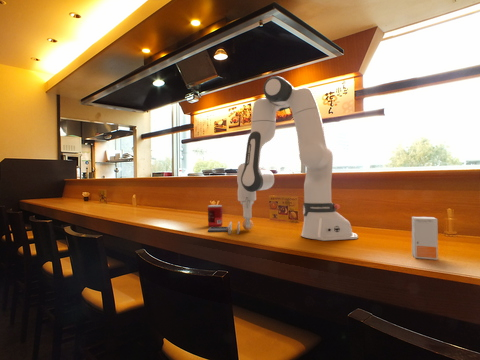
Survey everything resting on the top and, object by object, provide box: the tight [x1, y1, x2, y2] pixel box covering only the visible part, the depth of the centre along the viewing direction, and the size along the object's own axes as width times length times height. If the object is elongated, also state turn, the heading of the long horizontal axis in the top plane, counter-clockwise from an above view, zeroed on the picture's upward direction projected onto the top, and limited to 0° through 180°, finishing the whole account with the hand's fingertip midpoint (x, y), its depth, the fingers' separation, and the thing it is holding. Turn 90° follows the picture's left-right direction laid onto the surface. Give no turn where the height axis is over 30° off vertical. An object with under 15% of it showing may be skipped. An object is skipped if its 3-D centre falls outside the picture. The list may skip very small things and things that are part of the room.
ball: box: [242, 219, 254, 230], centre depth 139 cm, size 5×5×5 cm
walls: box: [228, 221, 241, 235], centre depth 139 cm, size 5×16×4 cm, turn 179°
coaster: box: [207, 226, 229, 233], centre depth 143 cm, size 9×9×1 cm
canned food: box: [207, 204, 223, 228], centre depth 158 cm, size 8×8×11 cm
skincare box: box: [411, 216, 439, 261], centre depth 87 cm, size 6×4×12 cm
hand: (247, 226), depth 139 cm, fingers closed on ball, 5 cm apart
